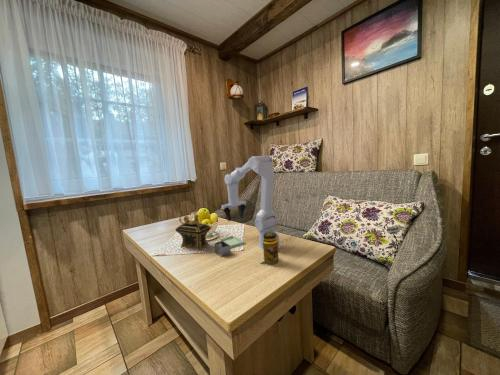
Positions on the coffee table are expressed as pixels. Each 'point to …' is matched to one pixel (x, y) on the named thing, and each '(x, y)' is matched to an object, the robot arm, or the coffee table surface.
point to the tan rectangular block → (218, 254)
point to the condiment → (270, 249)
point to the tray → (232, 241)
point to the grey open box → (222, 248)
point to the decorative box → (193, 233)
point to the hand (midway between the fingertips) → (235, 219)
